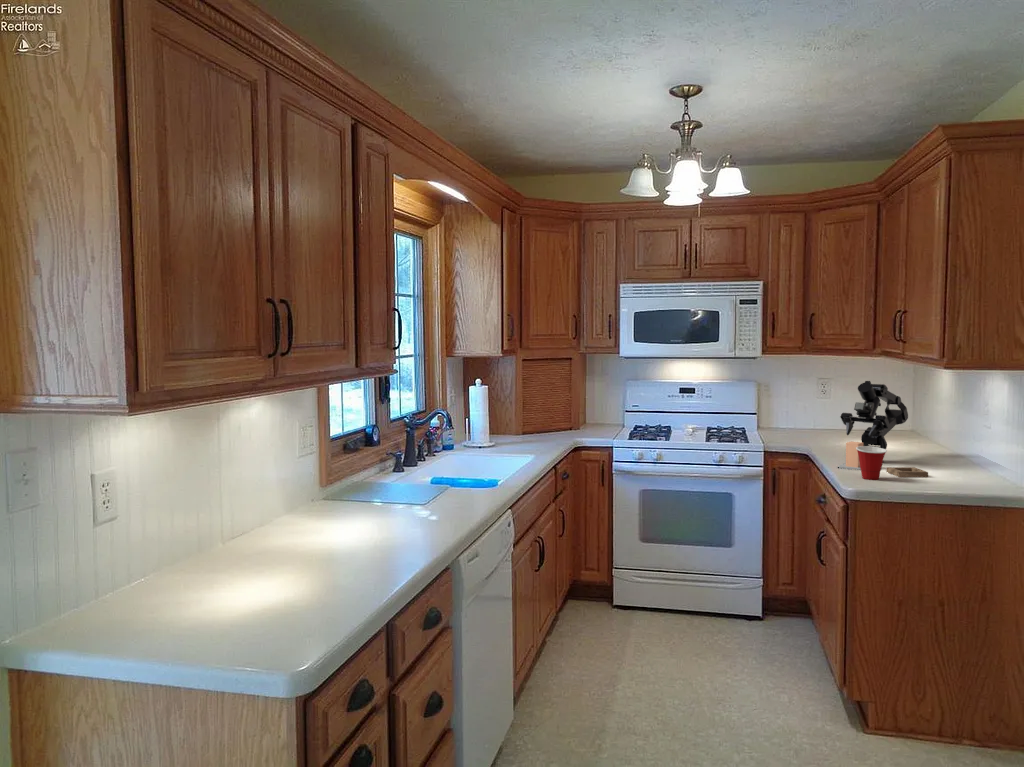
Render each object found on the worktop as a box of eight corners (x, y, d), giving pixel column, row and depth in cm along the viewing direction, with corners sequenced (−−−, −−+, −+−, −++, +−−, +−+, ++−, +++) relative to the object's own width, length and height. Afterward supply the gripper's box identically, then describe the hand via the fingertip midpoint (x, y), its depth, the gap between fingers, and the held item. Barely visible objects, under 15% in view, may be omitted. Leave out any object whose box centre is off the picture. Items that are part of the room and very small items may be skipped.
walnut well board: (886, 472, 301) (886, 467, 301) (914, 472, 300) (914, 467, 300) (899, 477, 290) (899, 472, 290) (928, 477, 289) (928, 472, 289)
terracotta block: (851, 464, 316) (851, 441, 315) (863, 466, 312) (863, 442, 312) (845, 466, 313) (846, 442, 312) (857, 467, 309) (858, 443, 308)
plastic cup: (869, 482, 281) (869, 450, 281) (849, 477, 292) (849, 446, 291) (893, 480, 284) (893, 449, 283) (872, 475, 295) (872, 445, 294)
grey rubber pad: (844, 464, 320) (844, 463, 320) (872, 467, 313) (872, 465, 313) (836, 468, 312) (836, 466, 312) (864, 470, 305) (864, 469, 305)
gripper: (842, 394, 323) (830, 421, 317) (886, 396, 309) (875, 425, 303) (850, 410, 329) (838, 438, 322) (894, 413, 315) (883, 442, 308)
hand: (858, 435), depth 314 cm, fingers open, 9 cm apart
